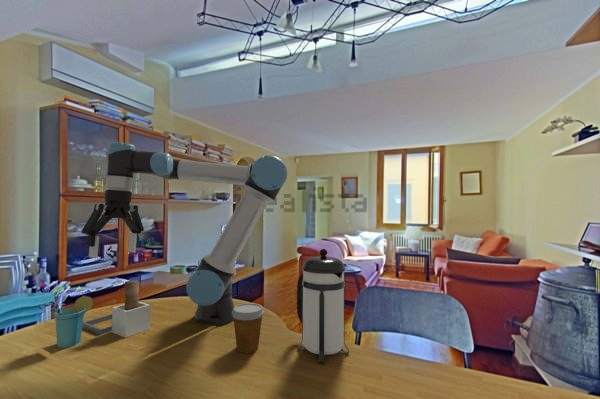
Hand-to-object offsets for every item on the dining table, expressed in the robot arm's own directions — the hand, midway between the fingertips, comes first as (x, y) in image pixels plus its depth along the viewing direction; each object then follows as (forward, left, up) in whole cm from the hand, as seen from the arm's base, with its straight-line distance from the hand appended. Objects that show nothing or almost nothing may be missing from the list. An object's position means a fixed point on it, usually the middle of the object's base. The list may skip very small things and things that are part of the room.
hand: (113, 254), depth 95 cm
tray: (+8, -4, -26) cm, 28 cm away
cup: (+3, +11, -27) cm, 29 cm away
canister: (-3, -5, -26) cm, 27 cm away
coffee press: (-62, -27, -27) cm, 73 cm away
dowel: (-3, -5, -26) cm, 26 cm away
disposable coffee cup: (-43, -17, -27) cm, 53 cm away
